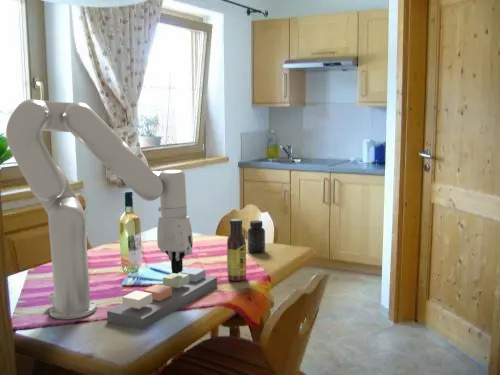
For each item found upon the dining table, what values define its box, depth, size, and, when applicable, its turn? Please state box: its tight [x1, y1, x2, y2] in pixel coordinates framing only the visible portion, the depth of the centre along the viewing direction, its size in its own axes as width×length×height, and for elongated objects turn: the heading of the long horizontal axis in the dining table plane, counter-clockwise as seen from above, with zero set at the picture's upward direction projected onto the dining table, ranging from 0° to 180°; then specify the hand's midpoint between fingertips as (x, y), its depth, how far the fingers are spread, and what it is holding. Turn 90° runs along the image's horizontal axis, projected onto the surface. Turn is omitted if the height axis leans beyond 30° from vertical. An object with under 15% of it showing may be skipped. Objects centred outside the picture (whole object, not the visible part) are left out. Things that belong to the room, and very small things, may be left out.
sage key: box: [162, 272, 189, 288], centre depth 164 cm, size 6×6×2 cm
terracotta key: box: [143, 283, 172, 301], centre depth 156 cm, size 6×6×2 cm
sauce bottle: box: [226, 218, 247, 282], centre depth 179 cm, size 7×6×20 cm
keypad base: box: [106, 275, 218, 331], centre depth 160 cm, size 12×37×3 cm, turn 152°
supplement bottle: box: [247, 220, 266, 255], centre depth 212 cm, size 7×7×12 cm
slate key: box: [180, 266, 206, 282], centre depth 172 cm, size 6×6×2 cm
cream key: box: [122, 290, 152, 309], centre depth 148 cm, size 6×6×2 cm
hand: (177, 272), depth 163 cm, fingers closed
